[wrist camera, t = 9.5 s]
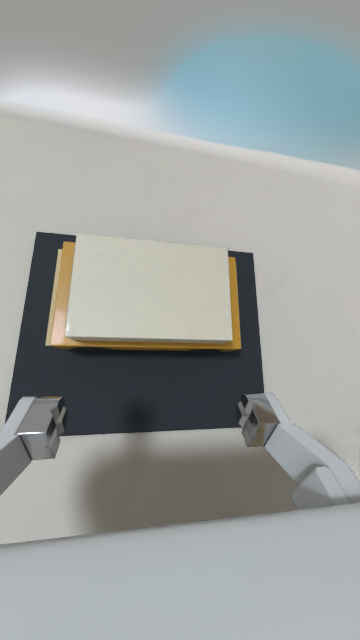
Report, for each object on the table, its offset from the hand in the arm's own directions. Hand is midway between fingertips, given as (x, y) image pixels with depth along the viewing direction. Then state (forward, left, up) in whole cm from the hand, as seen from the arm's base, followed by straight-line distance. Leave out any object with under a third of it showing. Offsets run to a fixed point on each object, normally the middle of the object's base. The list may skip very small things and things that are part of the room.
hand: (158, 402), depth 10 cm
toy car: (0, -3, -6) cm, 7 cm away
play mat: (-1, -5, -9) cm, 10 cm away
